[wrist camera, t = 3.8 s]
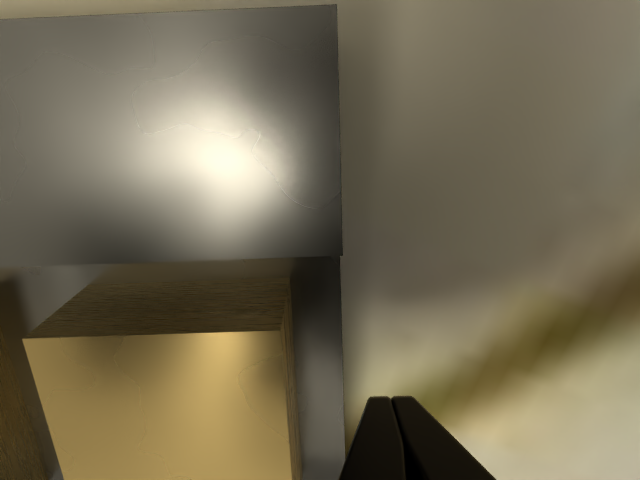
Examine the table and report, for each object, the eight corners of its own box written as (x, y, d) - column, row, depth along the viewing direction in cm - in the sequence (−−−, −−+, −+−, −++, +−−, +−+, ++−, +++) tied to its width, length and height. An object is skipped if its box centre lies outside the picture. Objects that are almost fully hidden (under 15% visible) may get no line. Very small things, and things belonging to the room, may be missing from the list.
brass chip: (302, 474, 10) (298, 561, 8) (133, 478, 10) (89, 566, 8) (289, 277, 9) (280, 330, 7) (88, 284, 9) (21, 338, 7)
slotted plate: (345, 531, 13) (352, 674, 10) (-99, 542, 14) (-233, 686, 10) (331, 37, 9) (336, 5, 6) (-329, 66, 9) (-695, 50, 6)
